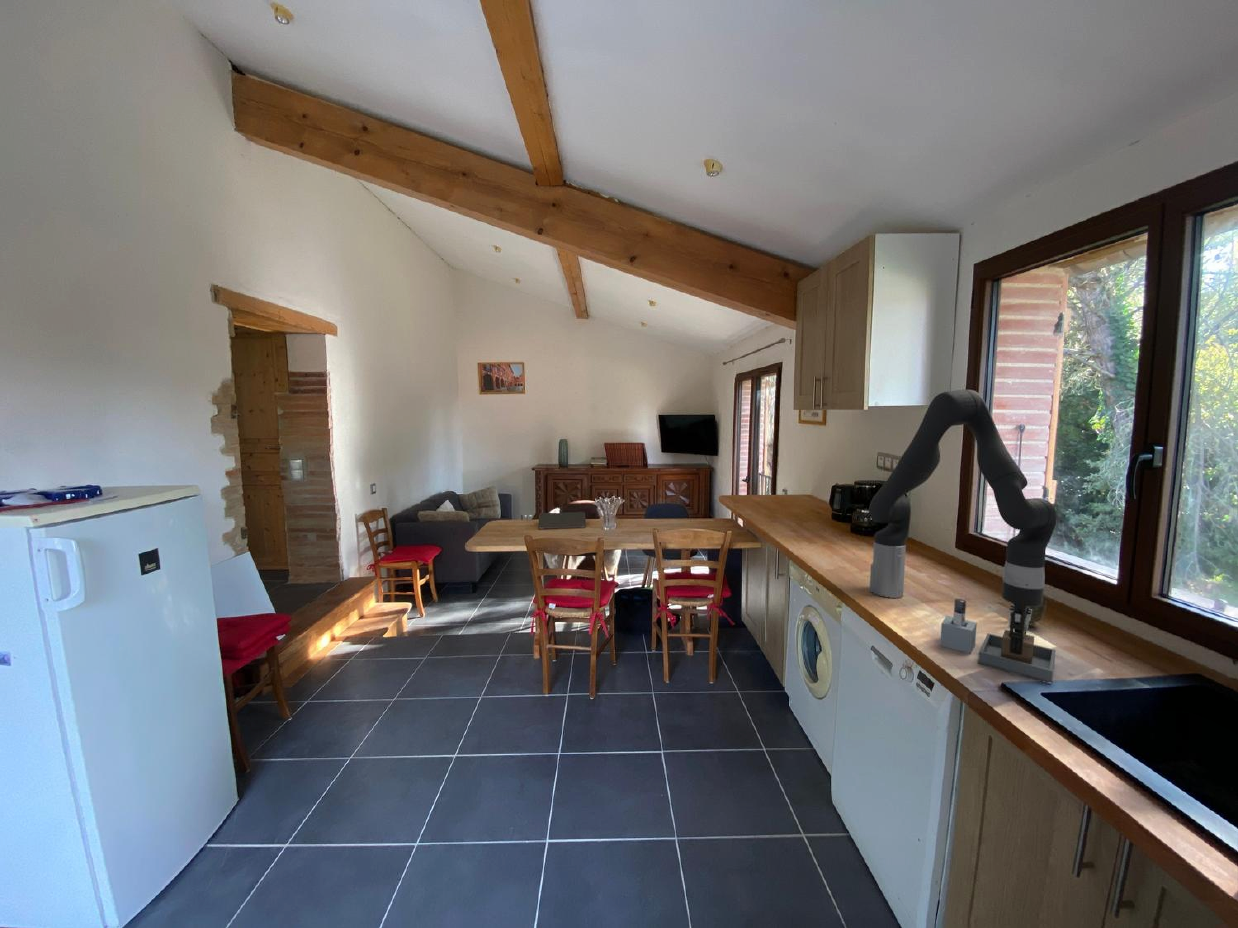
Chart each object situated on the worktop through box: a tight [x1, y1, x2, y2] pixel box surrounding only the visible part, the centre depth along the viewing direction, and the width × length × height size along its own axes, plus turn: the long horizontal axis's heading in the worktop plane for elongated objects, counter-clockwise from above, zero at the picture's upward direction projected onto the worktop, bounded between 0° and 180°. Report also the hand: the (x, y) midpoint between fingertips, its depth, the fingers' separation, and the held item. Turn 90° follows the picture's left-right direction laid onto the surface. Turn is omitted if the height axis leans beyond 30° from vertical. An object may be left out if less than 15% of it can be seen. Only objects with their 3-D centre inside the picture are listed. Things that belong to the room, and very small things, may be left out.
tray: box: [978, 633, 1057, 683], centre depth 117 cm, size 13×13×3 cm
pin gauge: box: [953, 598, 967, 627], centre depth 126 cm, size 2×2×12 cm
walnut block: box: [1001, 629, 1035, 664], centre depth 117 cm, size 6×6×6 cm
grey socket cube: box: [939, 615, 978, 655], centre depth 126 cm, size 6×6×6 cm
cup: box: [1012, 599, 1048, 628], centre depth 137 cm, size 8×7×8 cm
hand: (1017, 646), depth 117 cm, fingers open, 8 cm apart
